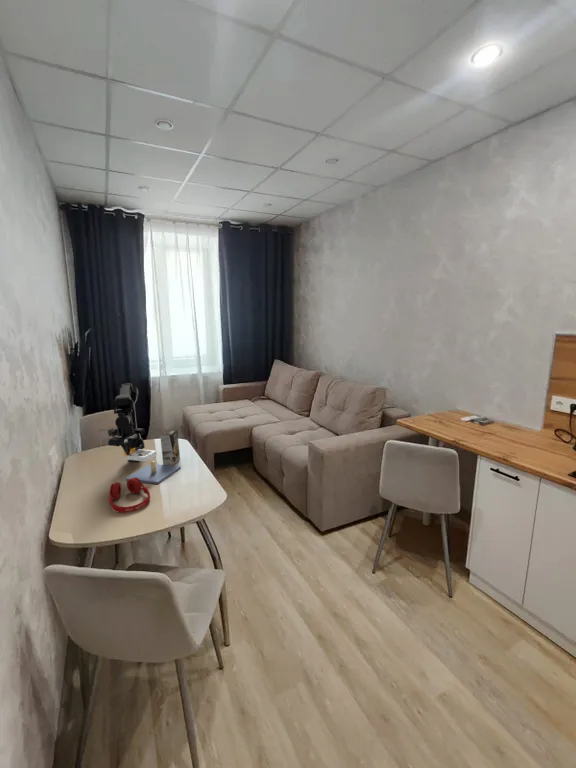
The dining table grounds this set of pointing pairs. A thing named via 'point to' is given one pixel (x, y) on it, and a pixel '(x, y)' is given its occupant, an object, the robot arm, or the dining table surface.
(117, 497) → the headphones
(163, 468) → the keeper
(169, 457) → the coffee box
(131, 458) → the grey frame with tab
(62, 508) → the dining table surface
